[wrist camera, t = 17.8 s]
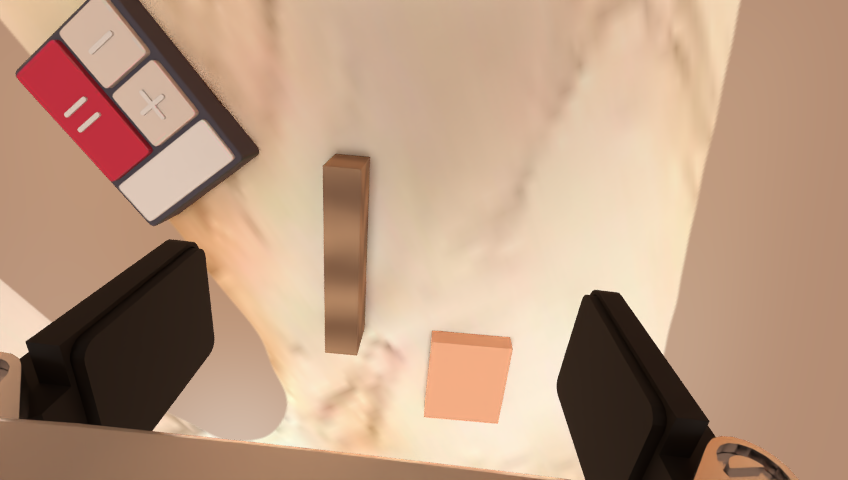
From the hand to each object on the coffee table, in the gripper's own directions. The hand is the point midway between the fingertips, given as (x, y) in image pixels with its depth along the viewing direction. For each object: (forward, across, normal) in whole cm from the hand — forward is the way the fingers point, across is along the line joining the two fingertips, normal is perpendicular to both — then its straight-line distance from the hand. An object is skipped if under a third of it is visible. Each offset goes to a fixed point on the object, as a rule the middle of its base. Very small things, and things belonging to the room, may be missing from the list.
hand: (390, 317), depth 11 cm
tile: (+27, -7, +20) cm, 35 cm away
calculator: (+29, +23, +2) cm, 37 cm away
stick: (+28, +6, +12) cm, 31 cm away
